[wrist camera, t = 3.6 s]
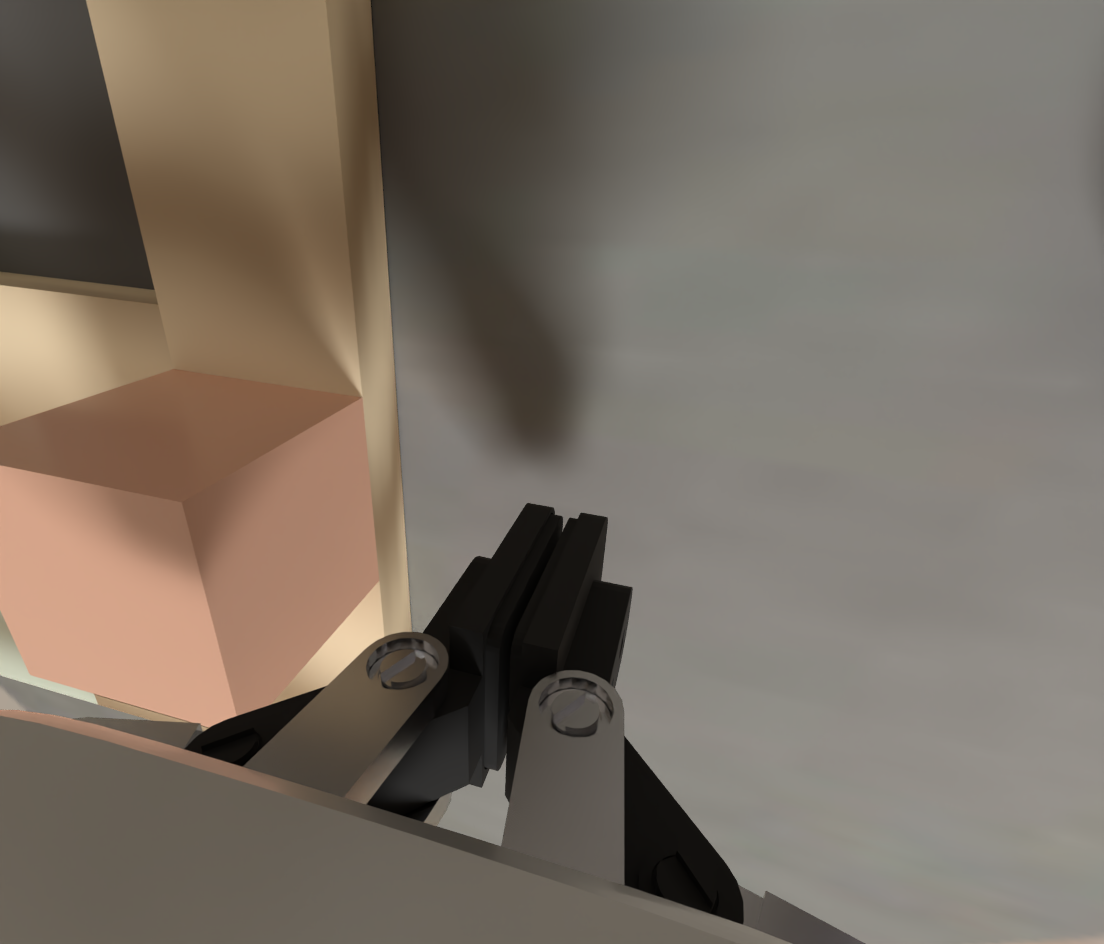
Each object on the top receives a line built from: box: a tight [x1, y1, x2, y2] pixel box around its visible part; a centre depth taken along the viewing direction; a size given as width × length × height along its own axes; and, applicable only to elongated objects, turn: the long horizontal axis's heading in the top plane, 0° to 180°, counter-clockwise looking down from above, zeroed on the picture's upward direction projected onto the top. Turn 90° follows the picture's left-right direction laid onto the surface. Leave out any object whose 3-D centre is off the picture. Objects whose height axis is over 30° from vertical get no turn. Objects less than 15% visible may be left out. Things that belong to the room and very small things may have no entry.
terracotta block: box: [0, 369, 379, 727], centre depth 13 cm, size 5×5×5 cm
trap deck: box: [0, 0, 412, 731], centre depth 16 cm, size 22×18×4 cm
